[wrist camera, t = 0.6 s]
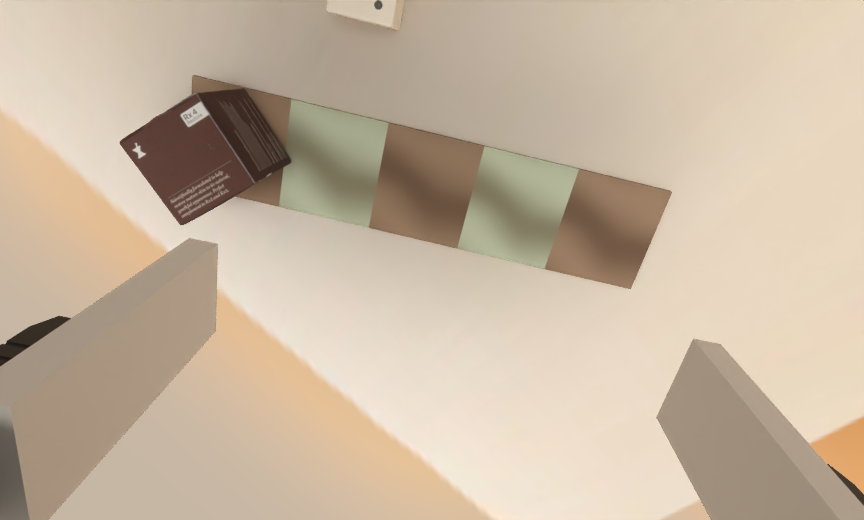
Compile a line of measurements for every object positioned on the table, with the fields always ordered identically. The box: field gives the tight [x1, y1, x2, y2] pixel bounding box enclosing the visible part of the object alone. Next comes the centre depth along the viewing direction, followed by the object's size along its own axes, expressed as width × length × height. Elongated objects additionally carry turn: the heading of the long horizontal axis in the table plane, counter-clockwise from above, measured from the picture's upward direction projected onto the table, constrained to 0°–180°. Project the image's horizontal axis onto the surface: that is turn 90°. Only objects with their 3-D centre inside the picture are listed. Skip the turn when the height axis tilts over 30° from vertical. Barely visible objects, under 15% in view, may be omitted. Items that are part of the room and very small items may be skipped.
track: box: [192, 75, 672, 289], centre depth 37 cm, size 8×35×1 cm, turn 77°
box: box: [120, 88, 291, 225], centre depth 33 cm, size 6×6×7 cm
